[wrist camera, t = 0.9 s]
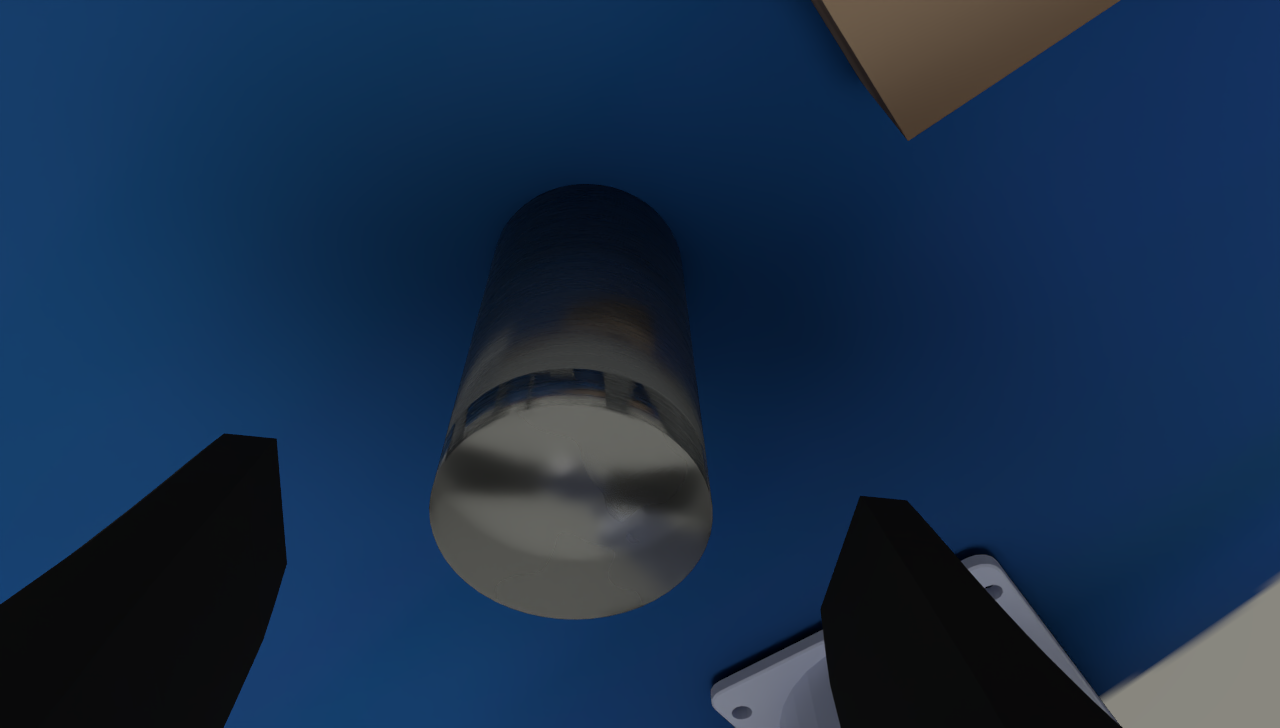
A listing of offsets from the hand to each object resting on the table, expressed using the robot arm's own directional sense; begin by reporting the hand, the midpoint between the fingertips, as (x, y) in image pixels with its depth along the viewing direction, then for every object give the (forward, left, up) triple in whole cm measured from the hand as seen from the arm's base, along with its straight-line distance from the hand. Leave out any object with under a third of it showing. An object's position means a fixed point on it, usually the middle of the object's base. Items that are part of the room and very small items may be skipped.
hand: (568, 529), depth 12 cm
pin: (0, 0, -7) cm, 7 cm away
